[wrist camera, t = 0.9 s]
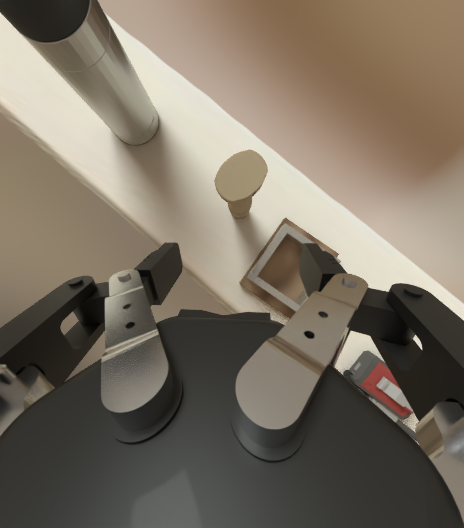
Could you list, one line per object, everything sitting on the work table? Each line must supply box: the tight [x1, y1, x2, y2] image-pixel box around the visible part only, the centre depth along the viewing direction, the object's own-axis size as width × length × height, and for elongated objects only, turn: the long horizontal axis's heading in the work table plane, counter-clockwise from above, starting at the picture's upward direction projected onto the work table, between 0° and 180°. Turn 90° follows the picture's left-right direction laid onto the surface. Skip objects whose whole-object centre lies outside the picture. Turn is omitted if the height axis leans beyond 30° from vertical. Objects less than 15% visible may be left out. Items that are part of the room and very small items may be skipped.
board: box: [240, 218, 339, 319], centre depth 36 cm, size 12×15×2 cm
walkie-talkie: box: [343, 351, 418, 441], centre depth 34 cm, size 9×4×20 cm
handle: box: [214, 150, 268, 219], centre depth 29 cm, size 5×6×15 cm
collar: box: [247, 223, 341, 312], centre depth 33 cm, size 11×11×3 cm
